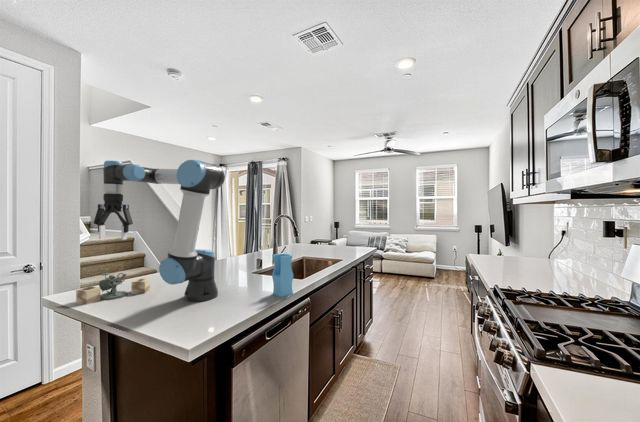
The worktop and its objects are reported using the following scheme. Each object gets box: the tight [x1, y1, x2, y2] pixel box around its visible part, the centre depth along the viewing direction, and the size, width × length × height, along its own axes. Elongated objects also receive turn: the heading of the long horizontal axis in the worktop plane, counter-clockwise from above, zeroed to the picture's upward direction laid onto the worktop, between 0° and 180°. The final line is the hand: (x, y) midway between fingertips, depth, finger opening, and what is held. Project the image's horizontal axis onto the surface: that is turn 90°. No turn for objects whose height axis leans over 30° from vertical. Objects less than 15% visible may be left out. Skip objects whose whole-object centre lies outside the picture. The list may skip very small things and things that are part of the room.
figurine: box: [98, 272, 128, 301], centre depth 132 cm, size 11×11×12 cm
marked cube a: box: [131, 278, 151, 295], centre depth 140 cm, size 6×6×6 cm
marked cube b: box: [75, 285, 101, 305], centre depth 125 cm, size 6×6×6 cm
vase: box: [271, 252, 295, 298], centre depth 140 cm, size 8×8×20 cm
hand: (113, 239), depth 132 cm, fingers open, 10 cm apart
